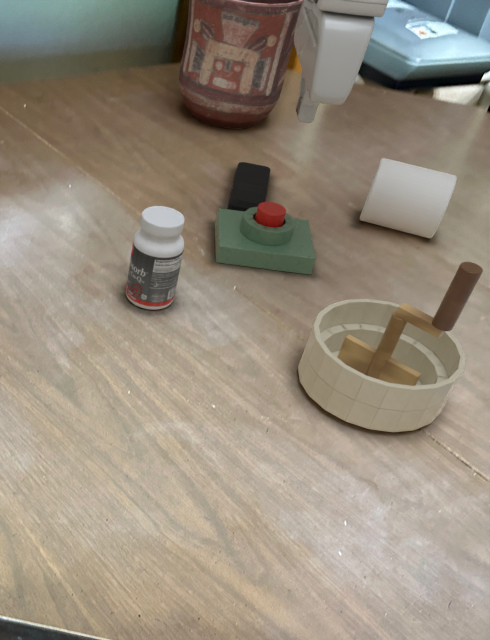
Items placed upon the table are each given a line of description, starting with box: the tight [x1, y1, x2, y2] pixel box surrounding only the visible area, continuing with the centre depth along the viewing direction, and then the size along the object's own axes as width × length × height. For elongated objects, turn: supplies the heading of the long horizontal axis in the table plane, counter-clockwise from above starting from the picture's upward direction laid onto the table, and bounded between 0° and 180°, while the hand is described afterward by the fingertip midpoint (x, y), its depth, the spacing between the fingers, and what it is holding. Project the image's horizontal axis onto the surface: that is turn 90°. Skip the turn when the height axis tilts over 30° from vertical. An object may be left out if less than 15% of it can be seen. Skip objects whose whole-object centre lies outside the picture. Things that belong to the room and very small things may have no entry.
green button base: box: [214, 207, 317, 276], centre depth 98 cm, size 12×10×4 cm
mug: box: [359, 157, 458, 239], centre depth 105 cm, size 12×10×8 cm
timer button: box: [255, 201, 287, 228], centre depth 96 cm, size 4×4×2 cm
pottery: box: [178, 0, 303, 130], centre depth 121 cm, size 18×18×18 cm
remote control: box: [226, 161, 271, 212], centre depth 109 cm, size 5×2×15 cm
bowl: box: [297, 298, 467, 433], centre depth 80 cm, size 15×15×6 cm
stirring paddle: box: [337, 261, 484, 386], centre depth 75 cm, size 9×2×15 cm, turn 45°
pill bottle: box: [125, 205, 186, 311], centre depth 86 cm, size 6×6×10 cm
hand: (303, 117), depth 87 cm, fingers closed
